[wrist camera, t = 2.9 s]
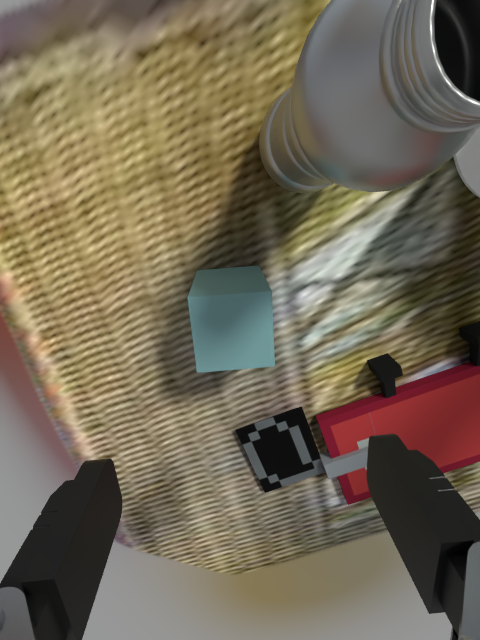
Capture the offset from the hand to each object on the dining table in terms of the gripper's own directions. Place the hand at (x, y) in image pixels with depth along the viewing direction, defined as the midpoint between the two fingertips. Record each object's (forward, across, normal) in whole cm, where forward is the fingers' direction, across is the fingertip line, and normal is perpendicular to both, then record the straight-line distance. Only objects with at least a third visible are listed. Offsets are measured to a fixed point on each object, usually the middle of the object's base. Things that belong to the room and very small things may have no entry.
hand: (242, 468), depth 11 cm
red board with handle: (+20, -15, +14) cm, 29 cm away
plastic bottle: (+19, -6, -11) cm, 23 cm away
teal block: (+19, 0, 0) cm, 19 cm away
